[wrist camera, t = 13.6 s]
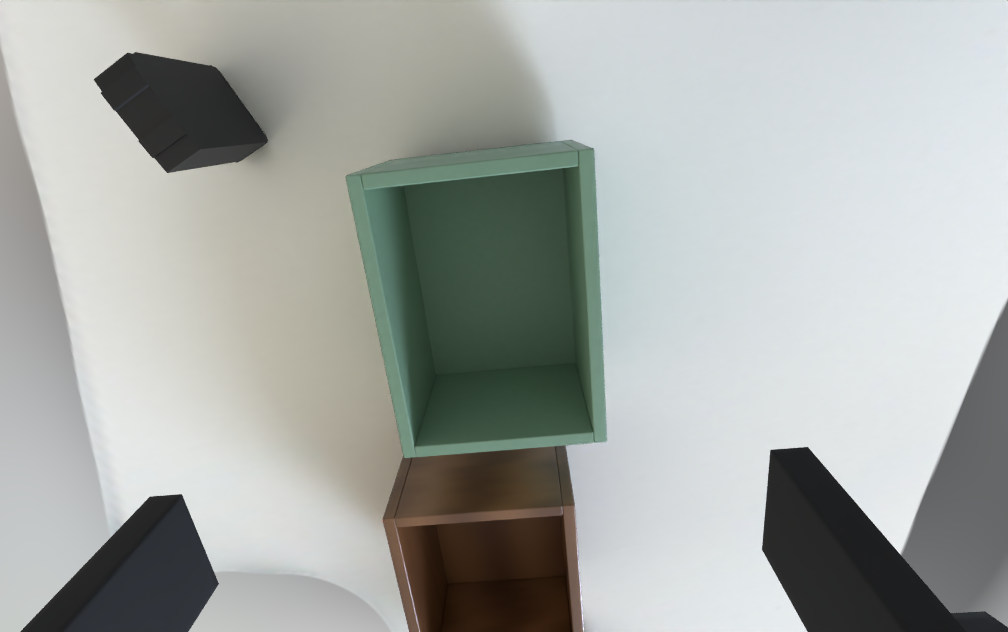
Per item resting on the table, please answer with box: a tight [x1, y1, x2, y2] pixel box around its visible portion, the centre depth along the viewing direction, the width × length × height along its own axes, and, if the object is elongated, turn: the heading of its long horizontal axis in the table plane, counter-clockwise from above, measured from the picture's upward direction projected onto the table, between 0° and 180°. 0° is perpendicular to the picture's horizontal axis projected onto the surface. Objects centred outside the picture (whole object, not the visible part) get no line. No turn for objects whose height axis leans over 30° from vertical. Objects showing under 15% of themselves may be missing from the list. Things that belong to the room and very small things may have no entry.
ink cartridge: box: [94, 52, 267, 173], centre depth 28 cm, size 5×2×8 cm, turn 31°
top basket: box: [346, 140, 607, 458], centre depth 30 cm, size 11×15×10 cm
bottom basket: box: [383, 445, 584, 632], centre depth 37 cm, size 11×15×10 cm
